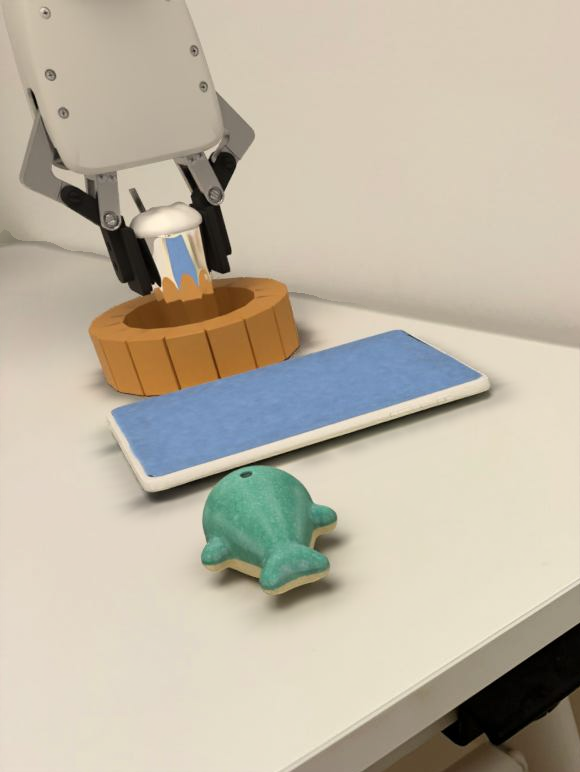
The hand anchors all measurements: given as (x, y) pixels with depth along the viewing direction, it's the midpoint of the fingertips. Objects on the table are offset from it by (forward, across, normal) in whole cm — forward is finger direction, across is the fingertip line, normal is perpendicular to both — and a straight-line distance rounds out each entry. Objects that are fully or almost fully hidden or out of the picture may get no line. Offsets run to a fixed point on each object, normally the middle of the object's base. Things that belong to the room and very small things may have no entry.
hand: (179, 277), depth 59 cm
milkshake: (+5, 0, 0) cm, 5 cm away
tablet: (+5, 0, +15) cm, 16 cm away
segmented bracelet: (+5, 0, 0) cm, 5 cm away
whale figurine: (+5, +8, +30) cm, 32 cm away
